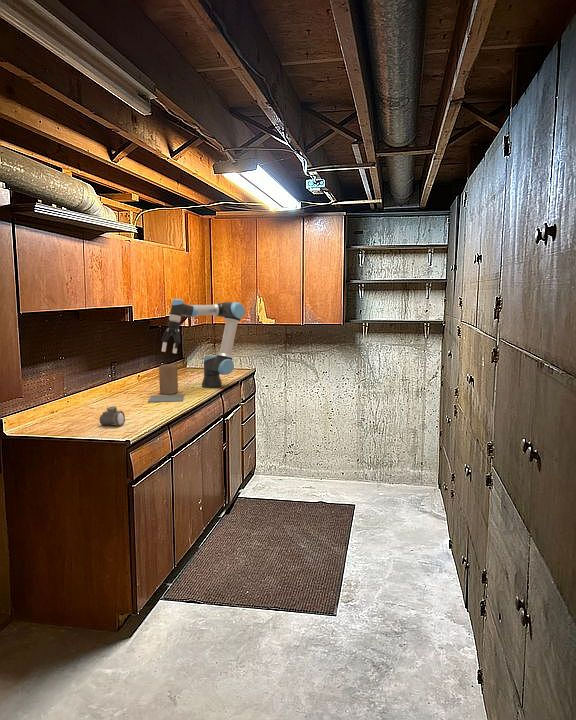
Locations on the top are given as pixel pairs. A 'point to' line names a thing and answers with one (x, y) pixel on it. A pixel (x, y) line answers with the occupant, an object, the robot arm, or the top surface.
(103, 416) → the pipe fitting
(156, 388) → the top surface
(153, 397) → the mat
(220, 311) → the robot arm
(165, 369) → the block
